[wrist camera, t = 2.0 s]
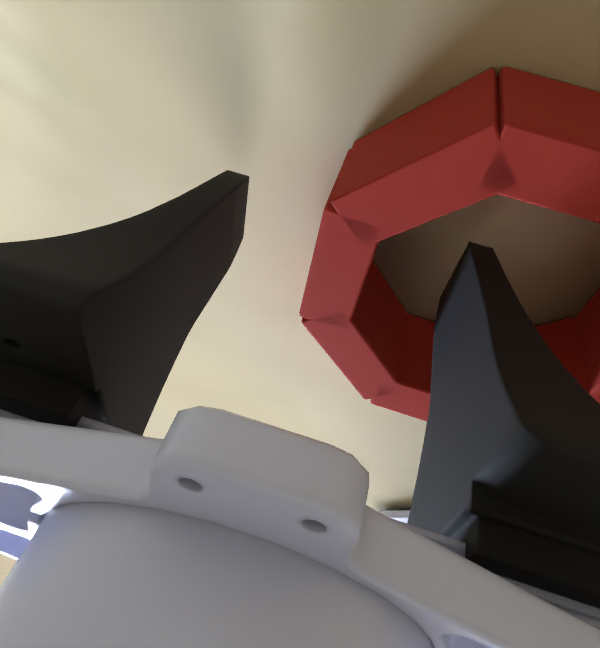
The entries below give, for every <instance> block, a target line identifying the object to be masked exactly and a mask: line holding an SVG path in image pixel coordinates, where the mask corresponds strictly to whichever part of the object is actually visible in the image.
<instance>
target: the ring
mask: <svg viewBox="0 0 600 648" xmlns="http://www.w3.org/2000/svg"><path fill="white" fill-rule="evenodd" d="M496 194H499V195H503V196H506V197H510V198H513V199H517V200H520V201H524V202H527V203H531V204H534V205H537V206H541V207H544V208H548V209H551V210H555V211H558V212H562V213H565V214H569V215H572V216H576V217H579V218H582V219H586V220H589V221H593V222H596V223H600V92H597V91H593V90H590V89H586V88H583V87H579V86H575V85H572V84H568V83H564V82H561V81H557V80H553V79H550V78H546V77H542V76H539V75H535V74H532V73H528V72H524V71H521V70H517V69H513V68H510V67H503V68H502V69H501V71H500V73H499V75H498V77H497V75H496V72H495V70H494V68H489V69H488V70H486V71H484V72H482V73H480V74H478V75H477V76H475V77H473V78H471V79H469V80H467V81H465V82H464V83H462V84H460V85H458V86H456V87H454V88H453V89H451V90H449V91H447V92H445V93H443V94H441V95H440V96H438V97H436V98H434V99H432V100H430V101H429V102H427V103H425V104H423V105H421V106H419V107H417V108H416V109H414V110H412V111H410V112H408V113H406V114H405V115H403V116H401V117H399V118H397V119H395V120H393V121H392V122H390V123H388V124H386V125H384V126H382V127H381V128H379V129H377V130H375V131H373V132H371V133H369V134H368V135H366V136H364V137H362V138H360V139H358V140H357V141H355V142H354V145H353V147H352V149H350V150H349V151H348V153H347V155H346V158H345V160H344V162H343V165H342V167H341V170H340V172H339V174H338V177H337V179H336V182H335V184H334V186H333V189H332V191H331V194H330V196H329V198H328V201H327V203H326V206H325V208H324V212H323V216H322V220H321V224H320V228H319V233H318V237H317V241H316V245H315V249H314V254H313V258H312V262H311V266H310V270H309V275H308V279H307V283H306V287H305V291H304V295H303V300H302V304H301V308H300V312H299V313H300V316H301V317H303V318H302V324H303V325H304V326H305V327H306V328H307V330H308V331H309V332H310V333H311V335H312V336H313V337H314V338H315V339H316V341H317V342H318V343H319V344H320V346H321V347H322V348H323V349H324V350H325V352H326V353H327V354H328V355H329V356H330V358H331V359H332V360H333V361H334V363H335V364H336V365H337V366H338V367H339V369H340V370H341V371H342V372H343V374H344V375H345V376H346V377H347V378H348V380H349V381H350V382H351V383H352V385H353V386H354V387H355V388H356V389H357V391H358V392H359V393H360V394H361V396H362V397H363V398H364V399H371V403H372V404H374V405H377V406H380V407H384V408H387V409H390V410H393V411H396V412H399V413H402V414H406V415H409V416H412V417H415V418H418V419H421V420H424V421H427V420H428V414H429V406H430V395H431V375H432V353H433V335H434V326H435V322H433V321H429V320H426V319H423V318H420V317H416V316H413V315H410V314H408V313H407V311H406V310H405V308H404V307H403V305H402V304H401V302H400V301H399V299H398V298H397V296H396V295H395V293H394V292H393V290H392V289H391V287H390V286H389V284H388V283H387V281H386V280H385V278H384V277H383V275H382V274H381V272H380V271H379V269H378V268H377V266H376V265H375V263H374V262H373V257H374V254H375V252H376V249H377V246H378V243H379V241H381V240H384V239H386V238H389V237H391V236H394V235H396V234H399V233H401V232H404V231H406V230H409V229H411V228H414V227H416V226H419V225H421V224H424V223H426V222H429V221H431V220H434V219H436V218H439V217H441V216H444V215H446V214H449V213H451V212H454V211H456V210H459V209H461V208H464V207H466V206H469V205H471V204H474V203H476V202H479V201H481V200H484V199H486V198H489V197H491V196H494V195H496ZM535 328H536V330H537V331H538V333H539V334H540V336H541V337H542V338H543V340H544V341H545V343H546V344H547V345H548V347H549V348H550V349H551V350H552V352H553V353H554V354H555V356H556V357H557V358H558V360H559V361H560V362H561V363H562V364H563V366H564V367H565V368H566V369H567V370H568V371H569V373H570V374H571V375H572V376H573V377H574V378H575V379H576V380H577V381H578V382H579V384H580V385H581V386H582V387H583V388H584V389H585V390H586V391H587V392H588V393H589V394H590V395H591V396H592V397H593V398H594V399H595V400H596V401H597V402H598V403H599V404H600V288H599V290H598V291H597V292H596V293H595V294H594V296H593V297H592V298H591V299H590V300H589V301H588V303H587V304H586V305H585V306H584V307H583V309H582V310H581V311H580V312H579V313H578V315H577V316H575V317H571V318H567V319H562V320H558V321H554V322H550V323H546V324H542V325H538V326H535Z"/></svg>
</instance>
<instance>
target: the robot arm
mask: <svg viewBox="0 0 600 648" xmlns="http://www.w3.org/2000/svg"><path fill="white" fill-rule="evenodd" d="M248 185H249V176H246V175H243V174H239V173H236V172H232V171H229V170H227V171H225V172H223V173H221V174H219V175H217V176H216V177H214V178H212V179H210V180H208V181H207V182H205V183H203V184H201V185H199V186H198V187H196V188H194V189H192V190H190V191H188V192H186V193H184V194H183V195H181V196H179V197H177V198H175V199H173V200H170V201H168V202H166V203H164V204H162V205H160V206H157V207H155V208H153V209H151V210H149V211H146V212H144V213H141V214H139V215H136V216H133V217H131V218H128V219H125V220H122V221H119V222H116V223H113V224H109V225H105V226H101V227H97V228H94V229H90V230H86V231H82V232H78V233H73V234H68V235H62V236H57V237H50V238H44V239H37V240H29V241H19V242H7V243H0V553H2V554H4V555H6V556H9V557H11V558H13V559H16V560H17V562H16V563H15V565H14V566H13V568H12V570H11V571H10V573H9V574H8V576H7V577H6V579H5V581H4V582H3V584H2V585H1V587H0V648H600V404H599V403H598V402H597V401H596V400H595V399H594V398H593V397H592V396H591V395H590V394H589V393H588V392H587V391H586V390H585V389H584V388H583V387H582V386H581V385H580V384H579V382H578V381H577V380H576V379H575V378H574V377H573V376H572V375H571V374H570V373H569V371H568V370H567V369H566V368H565V367H564V366H563V364H562V363H561V362H560V361H559V360H558V358H557V357H556V356H555V354H554V353H553V352H552V350H551V349H550V348H549V347H548V345H547V344H546V343H545V341H544V340H543V338H542V337H541V336H540V334H539V333H538V331H537V330H536V328H535V326H534V325H533V323H532V322H531V320H530V319H529V317H528V315H527V314H526V312H525V310H524V309H523V307H522V305H521V303H520V302H519V300H518V298H517V296H516V294H515V292H514V291H513V289H512V287H511V285H510V283H509V281H508V279H507V277H506V275H505V273H504V271H503V269H502V267H501V264H500V262H499V260H498V258H497V256H496V254H495V252H494V250H493V248H489V247H486V246H483V245H479V244H476V243H472V242H469V243H468V245H467V247H466V249H465V251H464V253H463V255H462V257H461V258H460V260H459V262H458V264H457V266H456V268H455V270H454V272H453V274H452V276H451V278H450V279H449V281H448V283H447V285H446V287H445V289H444V291H443V293H442V295H441V297H440V300H439V305H438V310H437V315H436V320H435V326H434V335H433V353H432V375H431V395H430V406H429V414H428V420H427V426H426V432H425V438H424V444H423V449H422V454H421V460H420V465H419V470H418V475H417V480H416V485H415V490H414V495H413V500H412V504H411V509H410V510H381V511H376V510H374V509H372V508H371V507H369V506H367V505H366V500H367V494H368V489H369V473H368V472H367V470H366V469H365V468H364V467H363V466H362V465H361V464H360V463H359V462H358V460H357V459H356V458H355V457H354V456H353V455H351V454H349V453H347V452H345V451H343V450H341V449H339V448H337V447H335V446H333V445H330V444H327V443H324V442H321V441H318V440H315V439H312V438H309V437H306V436H302V435H299V434H296V433H293V432H290V431H287V430H284V429H281V428H278V427H275V426H272V425H269V424H265V423H262V422H259V421H256V420H253V419H250V418H247V417H244V416H241V415H238V414H235V413H232V412H228V411H225V410H222V409H216V408H210V407H204V406H198V407H194V408H190V409H185V410H181V411H178V413H177V415H176V417H175V419H174V421H173V423H172V425H171V427H170V429H169V431H168V432H167V434H166V436H165V438H164V439H157V438H150V437H144V436H142V435H143V433H144V430H145V428H146V425H147V423H148V421H149V418H150V416H151V414H152V411H153V409H154V407H155V404H156V402H157V400H158V397H159V395H160V393H161V391H162V388H163V386H164V384H165V382H166V380H167V377H168V375H169V373H170V371H171V369H172V367H173V364H174V362H175V360H176V358H177V356H178V354H179V352H180V350H181V348H182V346H183V344H184V341H185V339H186V337H187V335H188V333H189V332H190V330H191V328H192V326H193V325H194V323H195V321H196V320H197V318H198V317H199V315H200V313H201V312H202V310H203V309H204V307H205V306H206V304H207V302H208V301H209V299H210V298H211V296H212V295H213V293H214V292H215V290H216V288H217V287H218V285H219V284H220V282H221V280H222V279H223V277H224V276H225V274H226V272H227V271H228V269H229V268H230V266H231V264H232V262H233V259H234V257H235V255H236V253H237V251H238V248H239V246H240V244H241V241H242V239H243V234H244V224H245V214H246V204H247V194H248Z"/></svg>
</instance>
